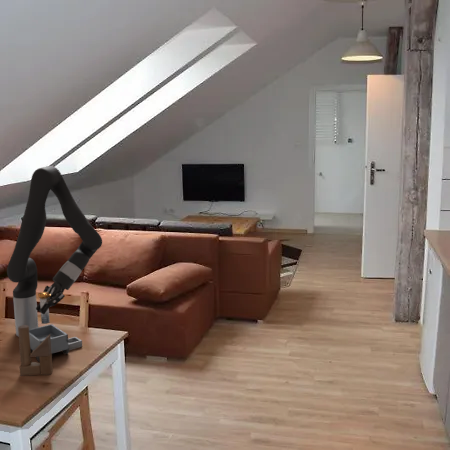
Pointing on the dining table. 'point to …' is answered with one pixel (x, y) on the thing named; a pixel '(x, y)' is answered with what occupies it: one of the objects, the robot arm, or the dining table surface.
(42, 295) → the pin
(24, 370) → the brown wooden stand
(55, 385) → the dining table surface
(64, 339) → the grey tray with sleeve
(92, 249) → the robot arm
